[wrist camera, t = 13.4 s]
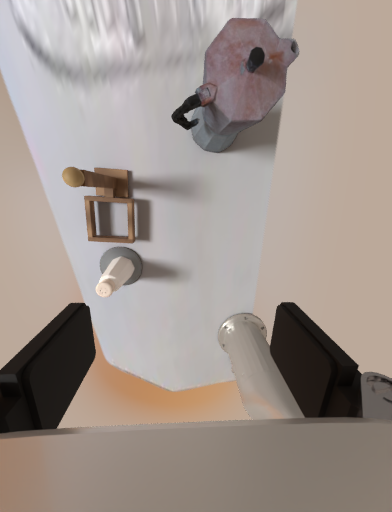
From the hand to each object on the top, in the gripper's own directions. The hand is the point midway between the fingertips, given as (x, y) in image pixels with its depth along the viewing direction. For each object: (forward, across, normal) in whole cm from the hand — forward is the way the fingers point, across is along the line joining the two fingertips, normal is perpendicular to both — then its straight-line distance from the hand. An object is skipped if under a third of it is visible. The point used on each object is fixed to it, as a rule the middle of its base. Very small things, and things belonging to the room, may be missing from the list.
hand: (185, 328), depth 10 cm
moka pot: (+34, -5, -18) cm, 39 cm away
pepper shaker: (+34, +14, +10) cm, 38 cm away
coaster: (+34, +14, +9) cm, 38 cm away
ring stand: (+34, +14, -4) cm, 37 cm away
